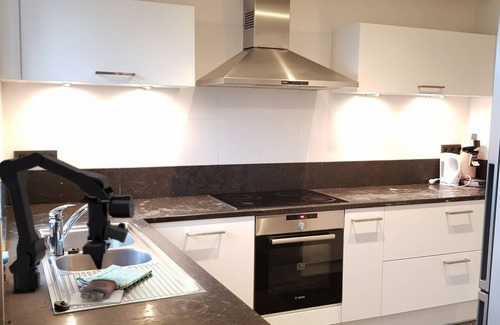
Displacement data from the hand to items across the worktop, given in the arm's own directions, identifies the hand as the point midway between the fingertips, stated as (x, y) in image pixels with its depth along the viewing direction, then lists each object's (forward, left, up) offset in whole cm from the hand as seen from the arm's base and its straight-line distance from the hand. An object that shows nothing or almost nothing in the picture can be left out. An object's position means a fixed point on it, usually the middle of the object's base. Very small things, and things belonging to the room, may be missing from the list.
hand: (99, 269), depth 144 cm
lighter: (+1, -1, -4) cm, 5 cm away
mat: (0, -7, -6) cm, 9 cm away
